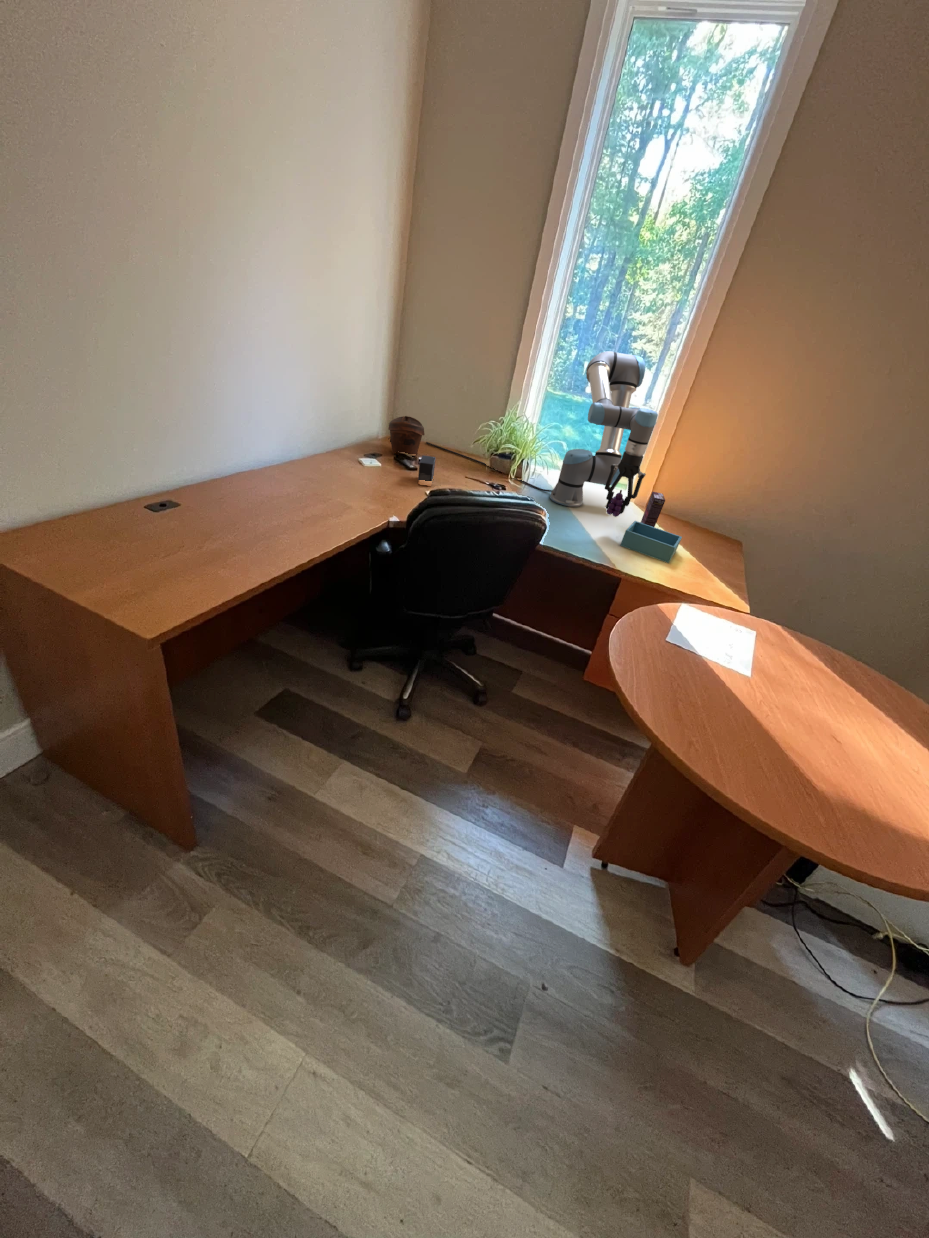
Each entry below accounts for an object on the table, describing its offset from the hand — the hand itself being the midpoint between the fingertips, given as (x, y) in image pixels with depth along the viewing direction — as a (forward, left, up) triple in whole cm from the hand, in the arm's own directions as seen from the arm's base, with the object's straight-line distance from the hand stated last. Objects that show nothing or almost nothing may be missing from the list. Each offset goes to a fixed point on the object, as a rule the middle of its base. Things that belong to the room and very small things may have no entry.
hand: (614, 510), depth 199 cm
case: (-113, +9, -11) cm, 114 cm away
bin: (+18, 0, -10) cm, 21 cm away
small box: (-83, -15, -11) cm, 85 cm away
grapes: (0, 0, -2) cm, 2 cm away
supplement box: (+12, +19, -11) cm, 25 cm away
